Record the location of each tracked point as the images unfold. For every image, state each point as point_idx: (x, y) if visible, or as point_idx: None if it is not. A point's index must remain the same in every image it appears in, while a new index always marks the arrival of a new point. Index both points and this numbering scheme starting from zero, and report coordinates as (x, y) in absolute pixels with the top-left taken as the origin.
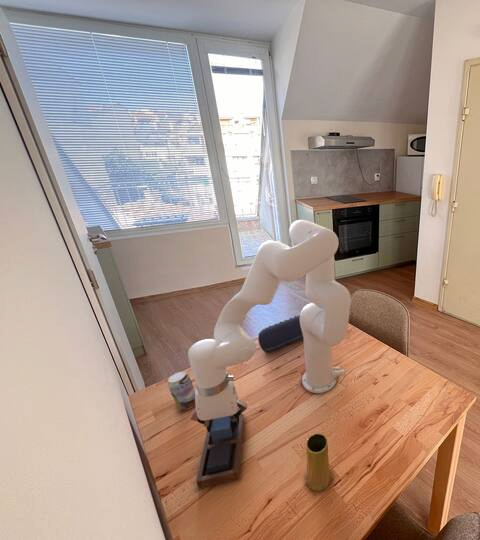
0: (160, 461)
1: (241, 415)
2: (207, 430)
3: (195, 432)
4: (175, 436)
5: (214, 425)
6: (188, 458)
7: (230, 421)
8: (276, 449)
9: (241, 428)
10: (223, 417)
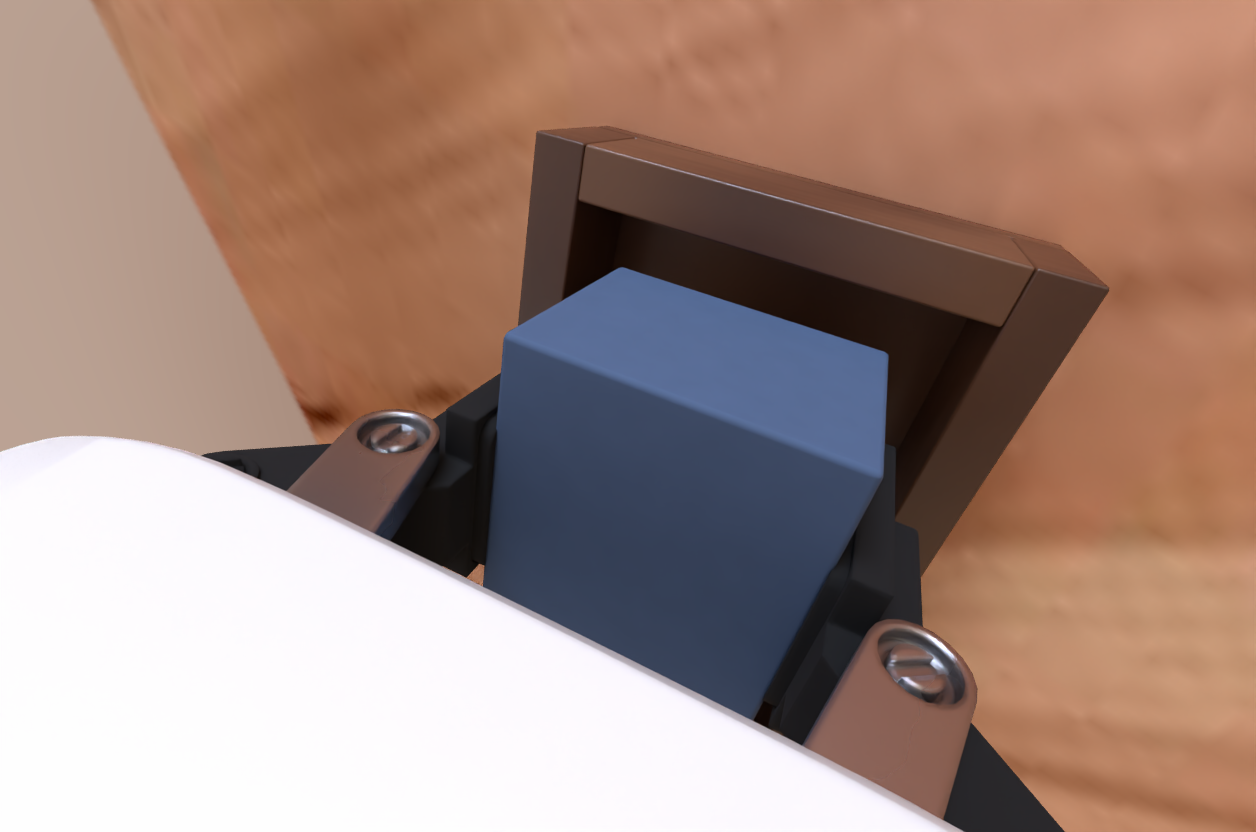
0: (266, 295)
1: (1054, 322)
2: (519, 312)
3: (446, 117)
4: (281, 70)
5: (525, 576)
6: (438, 390)
7: (772, 689)
8: (1194, 815)
9: (938, 547)
10: (669, 530)
